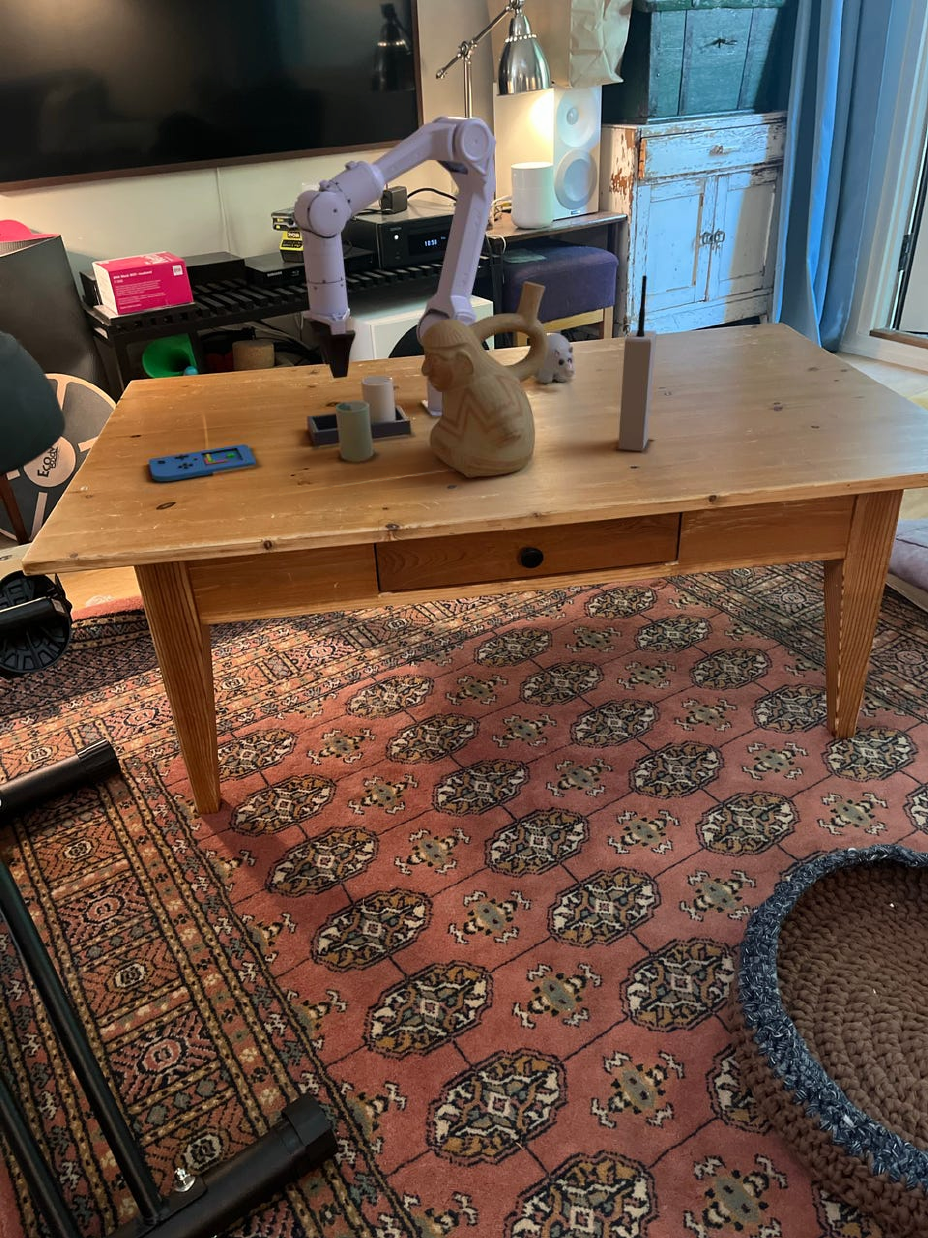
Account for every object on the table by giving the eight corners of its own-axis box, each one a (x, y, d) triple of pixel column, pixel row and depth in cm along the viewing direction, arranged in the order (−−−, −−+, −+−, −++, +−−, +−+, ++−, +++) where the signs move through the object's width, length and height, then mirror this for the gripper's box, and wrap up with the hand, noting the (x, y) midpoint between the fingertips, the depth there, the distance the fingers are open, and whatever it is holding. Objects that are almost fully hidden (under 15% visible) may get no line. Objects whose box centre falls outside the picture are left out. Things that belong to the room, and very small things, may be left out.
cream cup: (392, 421, 150) (389, 373, 145) (399, 431, 146) (395, 382, 141) (363, 425, 149) (358, 377, 144) (369, 435, 144) (364, 386, 140)
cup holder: (400, 420, 152) (399, 404, 150) (411, 436, 145) (410, 420, 143) (308, 432, 148) (306, 416, 147) (315, 449, 142) (313, 432, 140)
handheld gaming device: (147, 457, 137) (246, 441, 142) (149, 464, 138) (247, 448, 142) (152, 476, 131) (255, 459, 135) (154, 483, 131) (256, 466, 136)
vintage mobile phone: (648, 440, 140) (661, 270, 127) (642, 452, 136) (656, 278, 123) (624, 438, 141) (635, 270, 128) (618, 449, 137) (628, 277, 124)
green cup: (370, 449, 141) (365, 398, 137) (376, 460, 137) (371, 408, 132) (338, 453, 140) (332, 402, 135) (343, 464, 136) (338, 413, 131)
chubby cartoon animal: (548, 395, 160) (549, 347, 156) (526, 376, 170) (526, 330, 165) (586, 391, 162) (588, 342, 157) (562, 372, 171) (563, 326, 167)
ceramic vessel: (406, 456, 138) (394, 284, 125) (520, 433, 144) (521, 269, 131) (450, 496, 125) (443, 310, 111) (574, 470, 131) (581, 291, 118)
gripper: (292, 272, 139) (303, 360, 147) (306, 291, 128) (317, 386, 135) (337, 268, 141) (346, 355, 148) (355, 287, 129) (364, 380, 136)
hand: (335, 370), depth 142 cm, fingers open, 7 cm apart
